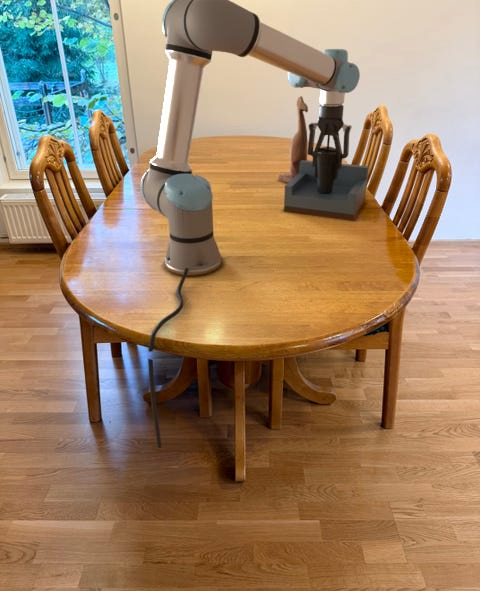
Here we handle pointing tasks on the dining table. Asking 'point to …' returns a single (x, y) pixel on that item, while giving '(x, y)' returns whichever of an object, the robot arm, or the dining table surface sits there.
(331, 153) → the drinking cup
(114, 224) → the dining table surface
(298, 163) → the bird sculpture
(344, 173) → the sofa
